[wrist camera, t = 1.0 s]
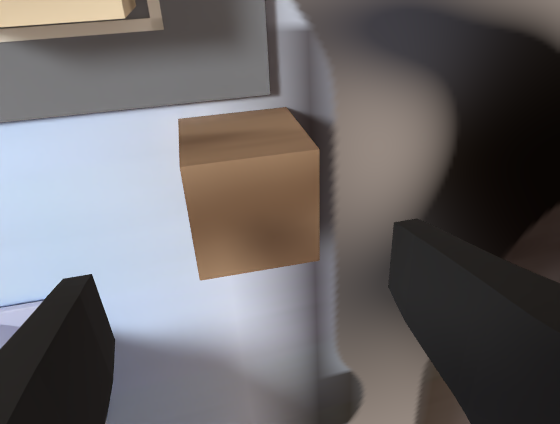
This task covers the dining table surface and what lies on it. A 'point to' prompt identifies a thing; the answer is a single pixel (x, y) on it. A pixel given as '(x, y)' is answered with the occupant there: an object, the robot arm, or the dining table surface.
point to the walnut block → (250, 191)
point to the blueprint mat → (135, 59)
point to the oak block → (61, 11)
